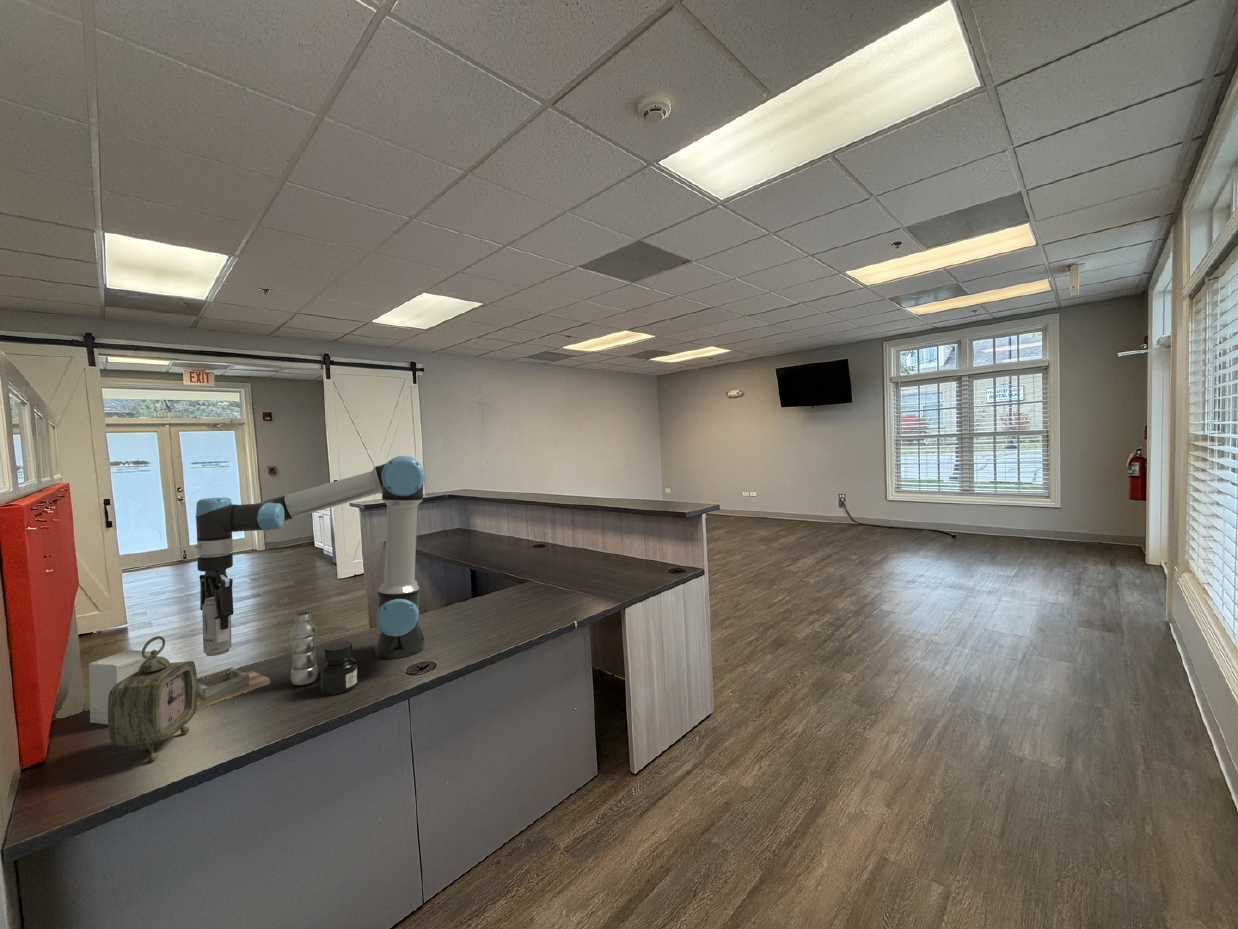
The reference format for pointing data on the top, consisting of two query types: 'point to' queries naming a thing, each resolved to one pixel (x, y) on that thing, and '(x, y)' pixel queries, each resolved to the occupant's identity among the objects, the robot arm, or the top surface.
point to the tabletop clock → (152, 702)
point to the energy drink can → (213, 630)
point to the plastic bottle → (303, 650)
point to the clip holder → (226, 685)
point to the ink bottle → (338, 669)
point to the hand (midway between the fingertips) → (217, 638)
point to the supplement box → (110, 680)
